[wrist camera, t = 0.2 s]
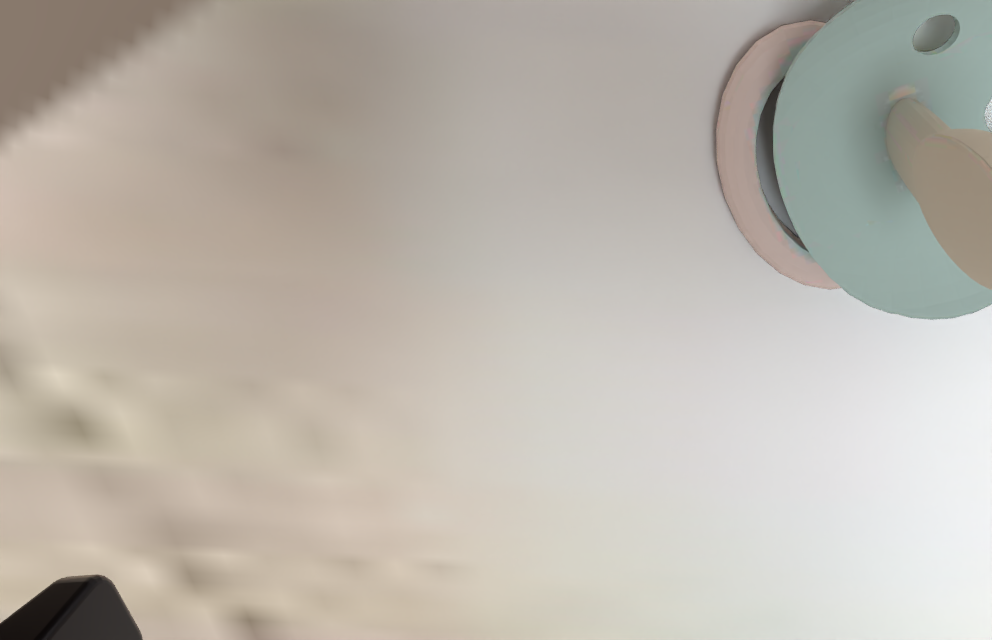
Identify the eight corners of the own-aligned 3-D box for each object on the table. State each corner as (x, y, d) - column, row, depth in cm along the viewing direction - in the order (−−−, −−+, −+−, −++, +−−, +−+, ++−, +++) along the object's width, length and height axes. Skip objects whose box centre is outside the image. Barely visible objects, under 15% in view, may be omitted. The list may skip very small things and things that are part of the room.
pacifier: (764, 313, 23) (1024, 238, 21) (805, 477, 18) (1157, 396, 16) (672, 37, 20) (967, -79, 18) (687, 135, 14) (1110, -15, 13)
